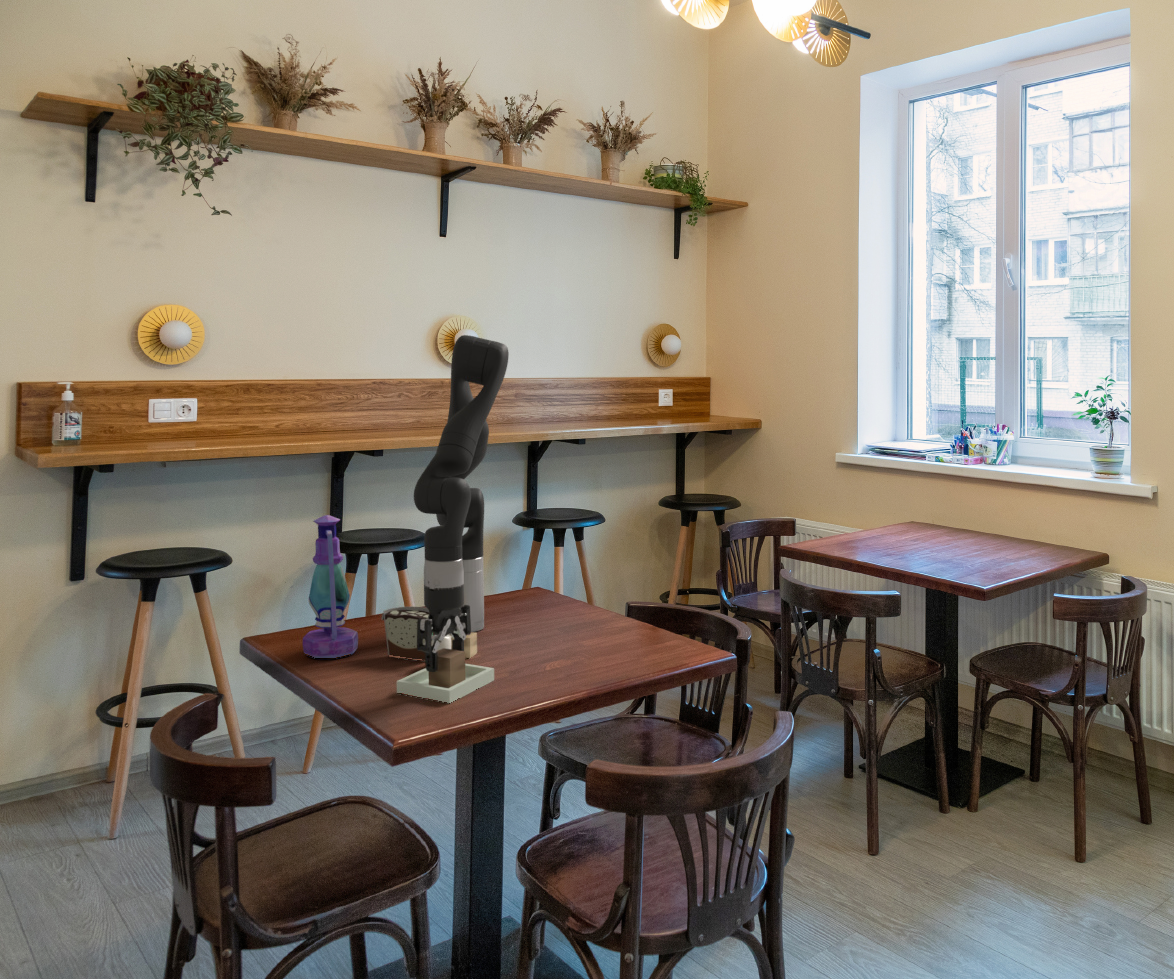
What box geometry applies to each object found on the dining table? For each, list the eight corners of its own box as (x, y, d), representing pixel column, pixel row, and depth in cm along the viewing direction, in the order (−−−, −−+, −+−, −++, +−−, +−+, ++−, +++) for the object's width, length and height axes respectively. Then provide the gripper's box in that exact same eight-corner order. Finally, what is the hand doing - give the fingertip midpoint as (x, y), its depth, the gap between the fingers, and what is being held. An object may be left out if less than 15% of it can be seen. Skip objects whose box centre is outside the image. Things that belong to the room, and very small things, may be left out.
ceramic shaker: (427, 666, 194) (427, 637, 193) (439, 661, 198) (438, 633, 197) (444, 669, 192) (443, 640, 191) (455, 663, 196) (454, 635, 195)
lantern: (363, 658, 199) (359, 517, 196) (306, 665, 195) (301, 521, 191) (353, 642, 211) (349, 509, 208) (299, 648, 207) (294, 512, 203)
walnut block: (428, 685, 180) (428, 654, 179) (444, 678, 184) (443, 648, 184) (450, 689, 178) (449, 658, 177) (465, 681, 182) (465, 651, 181)
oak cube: (450, 657, 200) (449, 637, 200) (457, 651, 205) (457, 631, 204) (470, 659, 199) (470, 638, 199) (477, 653, 204) (476, 632, 203)
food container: (447, 654, 202) (447, 608, 201) (434, 662, 197) (433, 615, 195) (397, 648, 206) (396, 604, 205) (382, 656, 201) (381, 610, 199)
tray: (396, 693, 177) (396, 681, 177) (443, 671, 190) (443, 660, 190) (449, 703, 172) (449, 690, 171) (494, 680, 185) (494, 668, 185)
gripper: (449, 572, 187) (450, 652, 189) (404, 587, 174) (406, 672, 176) (481, 576, 183) (482, 657, 185) (437, 591, 171) (439, 678, 173)
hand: (445, 665), depth 181 cm, fingers open, 8 cm apart
